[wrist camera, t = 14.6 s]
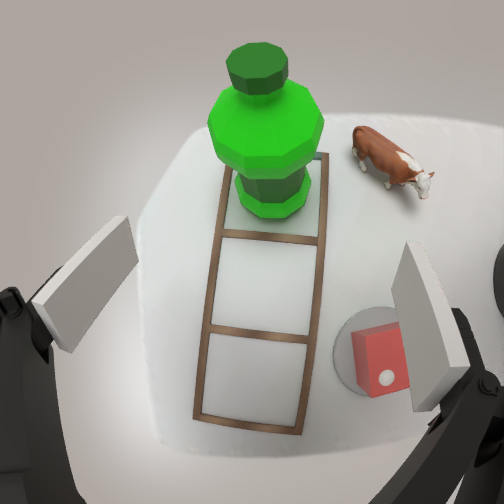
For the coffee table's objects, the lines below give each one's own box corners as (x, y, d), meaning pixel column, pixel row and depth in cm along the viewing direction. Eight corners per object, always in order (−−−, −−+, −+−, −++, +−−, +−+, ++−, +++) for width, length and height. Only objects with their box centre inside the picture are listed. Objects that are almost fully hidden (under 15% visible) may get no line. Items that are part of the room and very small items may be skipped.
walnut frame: (328, 155, 42) (328, 153, 41) (301, 433, 34) (301, 435, 34) (229, 148, 44) (228, 146, 43) (193, 417, 36) (192, 419, 36)
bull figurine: (407, 217, 39) (430, 197, 31) (341, 155, 42) (350, 124, 34) (422, 199, 39) (446, 176, 31) (358, 139, 42) (369, 108, 34)
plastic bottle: (265, 150, 43) (242, 11, 19) (324, 187, 41) (357, 53, 17) (223, 200, 42) (155, 79, 18) (283, 243, 40) (276, 139, 16)
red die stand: (409, 298, 36) (438, 294, 28) (418, 380, 34) (447, 394, 25) (327, 316, 37) (338, 317, 29) (338, 402, 35) (351, 423, 26)
